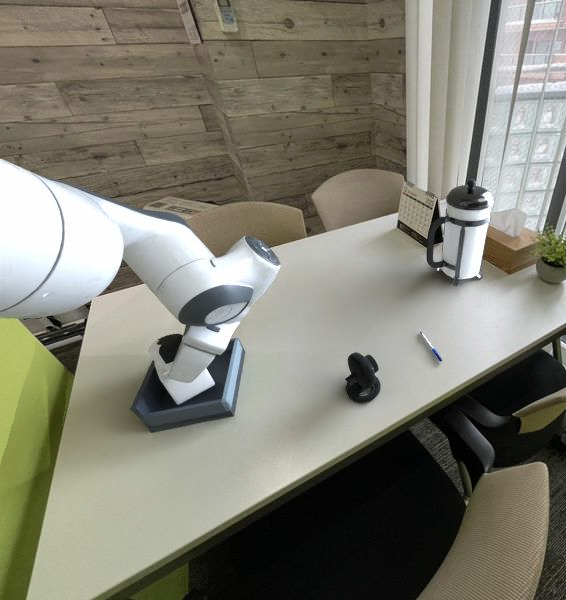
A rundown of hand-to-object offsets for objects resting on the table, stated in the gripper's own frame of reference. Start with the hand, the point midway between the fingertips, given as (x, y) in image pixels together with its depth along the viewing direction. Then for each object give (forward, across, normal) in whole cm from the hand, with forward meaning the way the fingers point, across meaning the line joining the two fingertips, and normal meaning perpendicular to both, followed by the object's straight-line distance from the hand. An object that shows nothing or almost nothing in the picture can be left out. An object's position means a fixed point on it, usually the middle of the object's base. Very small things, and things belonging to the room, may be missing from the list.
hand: (180, 356), depth 63 cm
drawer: (+7, 0, +8) cm, 10 cm away
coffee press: (-42, -27, +57) cm, 76 cm away
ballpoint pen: (-29, 0, +44) cm, 53 cm away
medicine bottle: (+6, +2, +5) cm, 8 cm away
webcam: (-17, +8, +32) cm, 37 cm away
